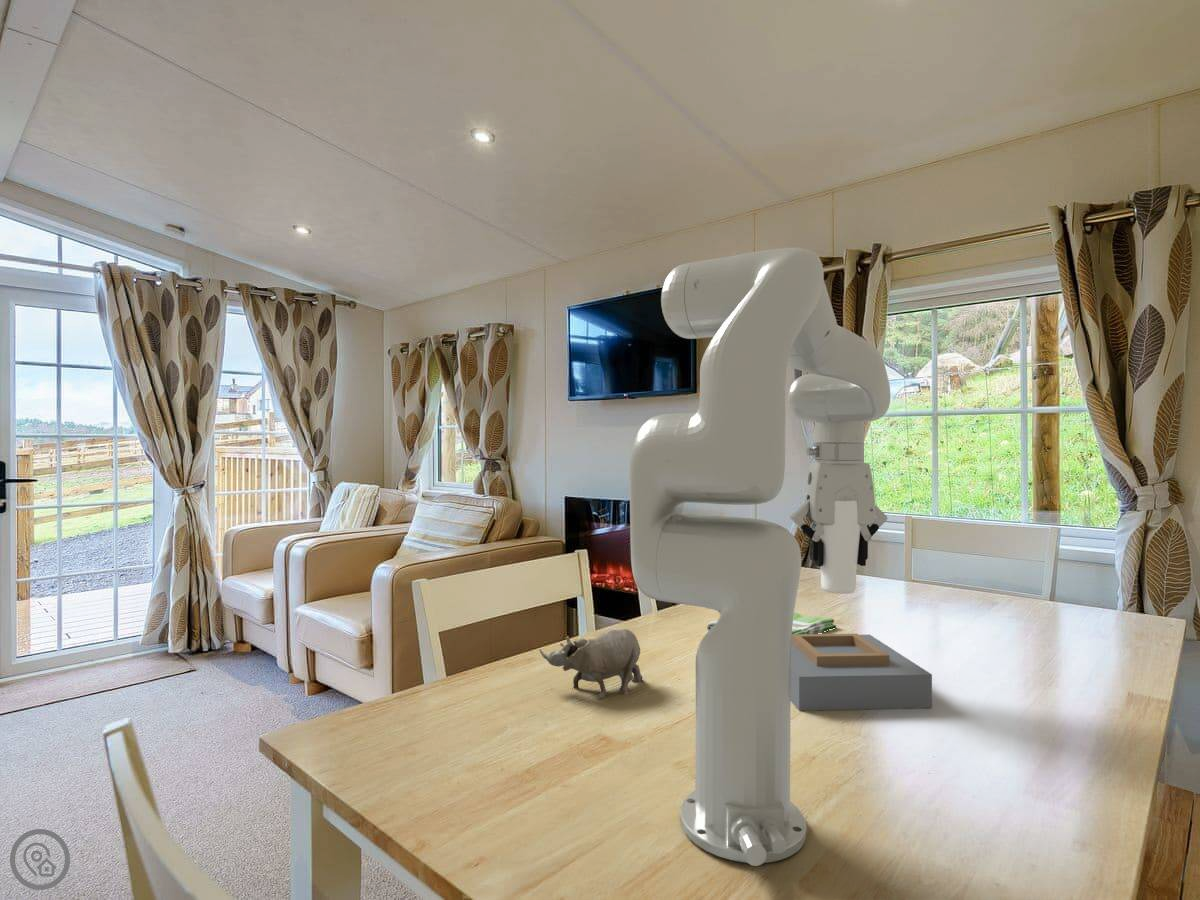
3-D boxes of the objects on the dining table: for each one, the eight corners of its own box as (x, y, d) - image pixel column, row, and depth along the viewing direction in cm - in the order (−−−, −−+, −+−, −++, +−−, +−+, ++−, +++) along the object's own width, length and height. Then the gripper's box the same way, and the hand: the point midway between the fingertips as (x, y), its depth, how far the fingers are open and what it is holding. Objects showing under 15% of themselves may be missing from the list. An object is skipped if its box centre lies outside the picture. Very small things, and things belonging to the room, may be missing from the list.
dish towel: (704, 633, 136) (704, 616, 136) (770, 614, 151) (770, 599, 151) (774, 654, 123) (774, 635, 123) (838, 631, 137) (838, 614, 137)
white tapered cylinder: (864, 596, 102) (864, 501, 102) (819, 594, 103) (819, 500, 103) (856, 587, 109) (856, 497, 108) (813, 585, 110) (814, 496, 110)
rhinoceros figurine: (671, 677, 102) (616, 602, 101) (604, 737, 99) (546, 661, 97) (654, 665, 110) (602, 595, 108) (591, 721, 106) (537, 649, 105)
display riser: (931, 708, 97) (932, 664, 96) (799, 710, 96) (799, 666, 95) (869, 662, 116) (869, 626, 116) (759, 664, 116) (759, 627, 115)
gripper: (794, 455, 101) (794, 569, 102) (902, 454, 102) (902, 568, 102) (779, 454, 109) (778, 560, 109) (880, 453, 110) (879, 559, 110)
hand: (838, 563), depth 106 cm, fingers closed on white tapered cylinder, 6 cm apart
